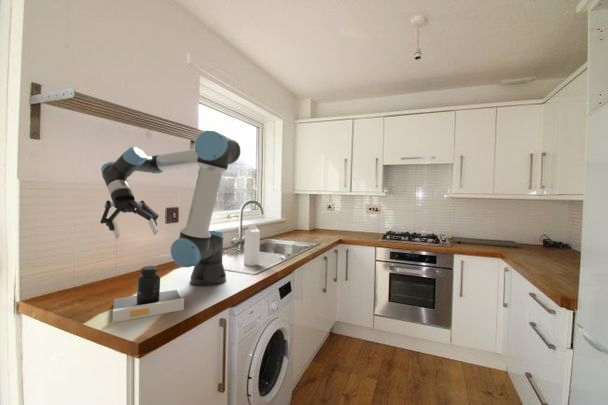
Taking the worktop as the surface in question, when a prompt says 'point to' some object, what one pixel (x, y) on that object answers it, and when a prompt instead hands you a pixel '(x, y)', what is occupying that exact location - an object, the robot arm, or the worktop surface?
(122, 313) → the open storage tray
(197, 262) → the robot arm
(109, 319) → the worktop surface
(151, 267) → the supplement bottle
